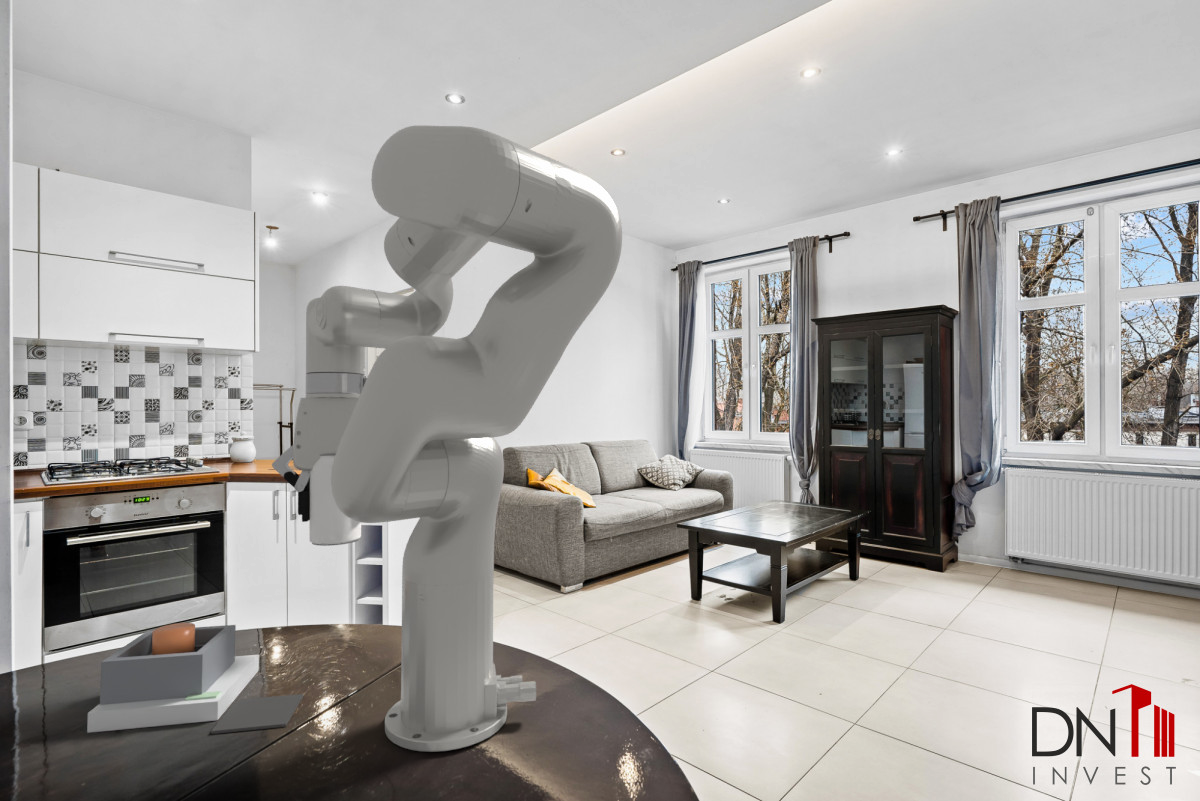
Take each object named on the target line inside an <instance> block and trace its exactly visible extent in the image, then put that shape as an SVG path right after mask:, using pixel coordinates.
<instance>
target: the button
mask: <svg viewBox="0 0 1200 801" xmlns="http://www.w3.org/2000/svg"><path fill="white" fill-rule="evenodd" d="M195 627H196V625H195V623H192V622H178V623H172V624H166V625H162V626H160V627H157V628H155V629H153V630H154V631H153V636H152V655H161V654H175V653H189V652H194V651H195Z"/></svg>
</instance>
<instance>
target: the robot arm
mask: <svg viewBox="0 0 1200 801" xmlns="http://www.w3.org/2000/svg"><path fill="white" fill-rule="evenodd" d="M371 190H372V192H373V197H374V199H375V200H376V202H377V205H378V206H380V208H381V209H382V210H383V211H385V212H386V213H388V214H389V215H392V216H394V217H397V218H398V219H397V220H396V221H395V222H394V223H393V225H392V226H390V228H389V229H388V230H387V232H386V234H385V237H384V240H383V251H384V254H385V257H386V260H387V263H388V264H389V266H390V267H391V269H392V270H393V271H394V273H395V274H396V275H397V276H398V277H399V278H400V279H401V280H402V281H403V282H405V283H406V284H407V285H408V286H410V287H411V288H412V289H414V290H415V291H414V292H412V293H411V294H410V295H403V294H398V293H390V292H387V291H381V290H374V289H368V288H367V289H365V288H362V287H361V288H360V287H356V286H355V287H353V286H347V285H334V286H331V287H329V288H327V289H326V290H325V291H324V292H323V293H322V295H321V296H319V297H316V298H313V299H311V300H310V301H309V302H308V303H307V306H306V311H305V313H306V314H305V315H306V316H305V337H306V338H305V397H301V398H300V399H299V403H298V408H297V412H296V419H295V427H294V432H293V434H294V435H293V444H292V445H291V446H289V448H287V450H286V451H284V452H283V453H281V455H280V456H278V457H277V458H276V459H275V460H274V461H273V462H272V464H271V466H272V468H273V469H274V471H276V472H277V473H278V474H279V475H280V476H281V477H282V478H283V479H284V480H285V481H286V482H287V483H289V485H290V486H291V487H293V488H294V491H296V492H297V514H298V515H299V516H301V522H302V523H306V522H310V473H311V470H312V469H313V466H314V464H315V463H316V462H317V461H318V460H319V459H320V457H321V456H319V455H327V454H336V455H335V459H334V463H333V468H332V476H331V486H332V493H333V497H334V500H335V503H336V505H337V506H338V508H339V509H340V511H341V512H342V513H343V514H344V515H346V516H347V517H349V518H350V519H352V520H355V521H358V522H361V524H362V523H364V524H376V523H378V524H379V523H388V522H397V521H404V520H410V519H418V520H417V522H416V525H415V526H414V528H413V530H412V532H411V534H410V535H409V538H408V540H407V543H406V545H405V549H404V552H403V557H402V573H401V574H402V575H401V577H402V579H401V580H402V581H401V582H402V584H401V650H400V651H401V657H400V658H401V659H400V661H401V662H400V664H401V665H400V666H401V667H400V668H401V669H400V670H401V671H400V672H401V674H400V675H401V677H400V686H401V687H400V700H399V701H397V702H396V703H394V704H393V705H392V707H391V708H389V709H388V711H387V713H386V715H385V717H384V732H385V735H386V737H387V738H388V740H390V742H392V743H393V744H395V745H397V746H398V747H401V748H404V749H406V750H407V749H408V750H410V751H415V752H416V751H417V752H426V753H427V752H428V753H433V752H434V753H435V752H438V753H439V752H448V751H453V750H459V749H463V748H467V747H470V746H473V745H475V744H479V743H480V742H483V741H484V740H487V739H488V738H490V737H492V736H493V735H495V733H497V732H498V731H500V729H501V728H502V727H503V726H504V724H505V722H506V720H507V716H508V703H514V702H519V703H522V702H523V703H524V702H534V701H536V700H537V685H536V684H537V682H536V680H533V681H523V680H524V679H523V675H521V674H519V675H511V676H505V677H502V674H497V670H496V664H495V663H494V571H495V538H496V537H495V536H496V535H495V534H496V523H497V513H498V508H499V502H500V498H501V492H502V488H503V482H504V475H505V474H504V473H505V462H504V460H505V459H504V455H503V452H502V449H501V446H500V445H499V443H498V441H497V440H496V439H495V438H497V437H503V436H506V435H509V434H511V433H513V432H514V431H516V429H518V428H519V426H521V424H522V423H523V421H525V419H526V417H527V416H528V414H529V413H530V411H531V409H532V408H533V406H534V404H535V402H536V401H537V399H538V398H539V396H540V394H541V393H542V390H543V389H544V388H545V386H546V384H547V382H548V381H549V379H550V377H551V375H552V374H553V372H554V370H556V367H557V365H558V364H559V362H560V360H561V358H562V357H563V355H564V352H565V351H566V349H567V347H568V345H569V344H570V342H571V340H573V337H574V336H575V335H576V333H577V332H578V330H579V329H580V328H581V326H582V324H583V323H584V322H585V321H586V319H587V318H588V317H589V315H590V314H591V312H592V311H593V310H594V308H595V307H596V306H597V305H598V303H599V302H600V301H601V299H602V298H603V296H604V295H605V293H606V291H607V290H608V288H609V286H610V284H611V283H612V281H613V278H614V276H615V274H616V271H617V269H618V266H619V263H620V258H621V255H622V254H621V253H622V248H623V247H622V246H623V227H622V221H621V216H620V213H619V210H618V208H617V206H616V203H615V202H614V200H613V199H612V196H610V194H609V193H608V191H606V190H605V189H604V187H602V185H600V184H599V183H598V182H596V181H595V180H594V179H593V178H591V177H589V176H588V175H586V174H585V173H583V172H581V171H579V170H578V169H576V168H573V167H572V166H569V165H567V164H565V163H563V162H561V161H559V160H556V159H553V158H551V157H549V156H546V155H544V154H542V153H539V152H537V151H536V150H535V151H534V150H532V149H530V148H528V147H526V146H523V145H521V144H519V143H517V142H514V141H512V140H510V139H507V138H506V137H503V136H501V135H498V134H497V133H494V132H491V131H488V130H484V129H482V128H478V127H473V126H464V125H462V126H461V125H460V126H459V125H441V126H440V125H410V126H407V127H404V128H401V129H399V130H398V131H396V132H395V133H393V134H392V135H391V136H390V137H389V138H388V139H386V141H385V142H384V143H383V145H382V146H381V147H380V149H379V150H378V152H377V154H376V156H375V159H374V161H373V165H372V170H371ZM489 242H490V243H494V244H497V245H500V246H505V247H507V248H512V249H515V250H520V251H524V252H527V253H530V254H533V256H534V260H532V262H531V263H530V264H528V265H527V266H525V267H523V268H522V269H521V270H518V271H517V272H516V273H514V274H513V275H512V276H510V277H509V278H508V279H507V280H506V281H504V282H503V283H502V284H501V285H500V286H499V287H498V288H497V290H495V292H494V294H492V296H491V297H489V299H488V302H487V303H486V306H485V307H484V309H483V312H482V314H481V316H480V317H479V320H478V322H477V324H476V325H475V327H474V328H473V330H472V331H471V332H470V333H469V334H467V335H465V336H463V337H460V338H459V337H458V338H454V337H453V338H451V337H443V336H442V337H441V336H434V335H435V334H436V333H437V332H438V331H439V330H440V329H441V328H442V327H443V326H444V325H445V323H446V322H447V320H448V318H449V316H450V313H451V309H452V305H453V299H454V286H453V279H452V278H453V277H454V276H455V275H456V274H457V273H458V272H460V270H461V269H462V268H464V266H466V264H467V263H468V262H470V260H471V259H473V258H474V256H475V255H476V254H478V253H479V252H480V251H481V250H482V249H483V247H485V246H486V245H487V244H488V243H489ZM366 348H374V349H375V348H376V349H384V350H383V351H382V352H381V353H380V354H379V355H378V357H377V358H376V360H375V361H374V364H373V365H372V368H371V369H370V371H369V373H368V376H366ZM291 461H292V464H293V466H294V467H295V469H297V470H300V471H301V472H300V475H299V474H298V473H297V472H296V471H294V470H293V469H292V468H291V467H290V465H289V463H290V462H291Z"/></svg>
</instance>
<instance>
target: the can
mask: <svg viewBox="0 0 1200 801" xmlns="http://www.w3.org/2000/svg"><path fill="white" fill-rule="evenodd" d="M335 455H336V454H327V455H319V456H321V457H320V459H319V460H318V461H317V462H316V463H315V464H314V466H313V469H312V470H311V473H310V520H309V542H310V543H311V544H312V545H315V546H322V547H323V546H325V547H326V546H340V545H341V546H342V545H347V544H352V543H355V542H356V543H357V542H358V541H359V539H361V537H362V522H358V521H355V520H352V519H350V518H349V517H347V516H346V515H344V514H343V513H342V512H341V511H340V509H339V508H338V506H337V505H336V503H335V500H334V497H333V493H332V486H331V476H332V468H333V463H334V459H335Z"/></svg>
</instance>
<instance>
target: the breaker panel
mask: <svg viewBox="0 0 1200 801" xmlns="http://www.w3.org/2000/svg"><path fill="white" fill-rule="evenodd" d="M236 627H237V626H236V624H230V625H228V624H226V625H225V624H224V625H213V626H199V627H198V626H197V627H196V626H195V651H194V652H189V653H175V654H161V655H152V636H153V631H154V630H155V629H149V630H147V631H145V632H144V633H142V634H141V635H138V637H136V638H135V639H133V640H131V641H130V642H129V643H127V644H126V645H124V646H123V647H121V648H119V649H118V650H117V651H115V652H114V653H112V654H111V655H109V656H108V657H107V658H105V659H104V660H102V661H101V662H100V689H99V690H100V692H99V703H98V704H97V705H96V706H95V707H93V709H90V711H88V712H87V730H86V732H87V734H88V733H98V732H109V731H117V730H118V731H119V730H130V729H141V728H149V727H161V726H171V725H172V726H173V725H182V724H191V723H192V724H193V723H201V722H211V721H219V719H221V718H222V716H223V714H225V713H226V712H227V710H228V708H230V707H231V706H232V703H234V702H235V701H236V699H237V698H238V696H239V695H240V694H241V692H242V691H243V690H244V688H246V687H247V685H248V684H249V683H250V682H251V681H252V679H253V678H254V677H255V676H256V674H257V673H258V672H259V670H260V664H259V663H260V654H252V655H251V654H249V655H238V656H237V655H236V633H237V632H236V631H237V630H236V629H237V628H236Z"/></svg>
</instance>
